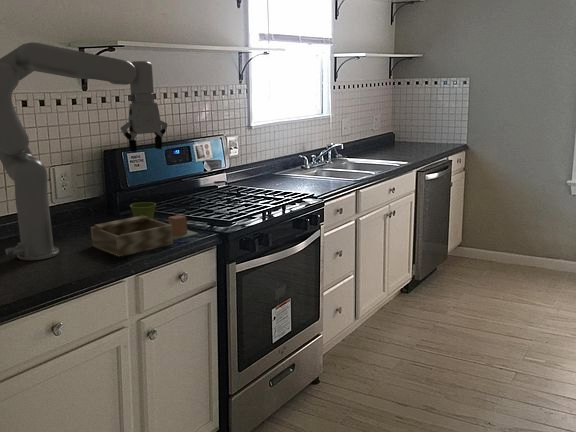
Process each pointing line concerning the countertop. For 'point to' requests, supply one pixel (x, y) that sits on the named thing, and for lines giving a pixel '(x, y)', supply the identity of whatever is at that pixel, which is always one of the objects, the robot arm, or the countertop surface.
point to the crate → (131, 235)
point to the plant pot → (143, 209)
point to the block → (178, 224)
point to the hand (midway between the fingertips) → (146, 150)
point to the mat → (185, 235)
